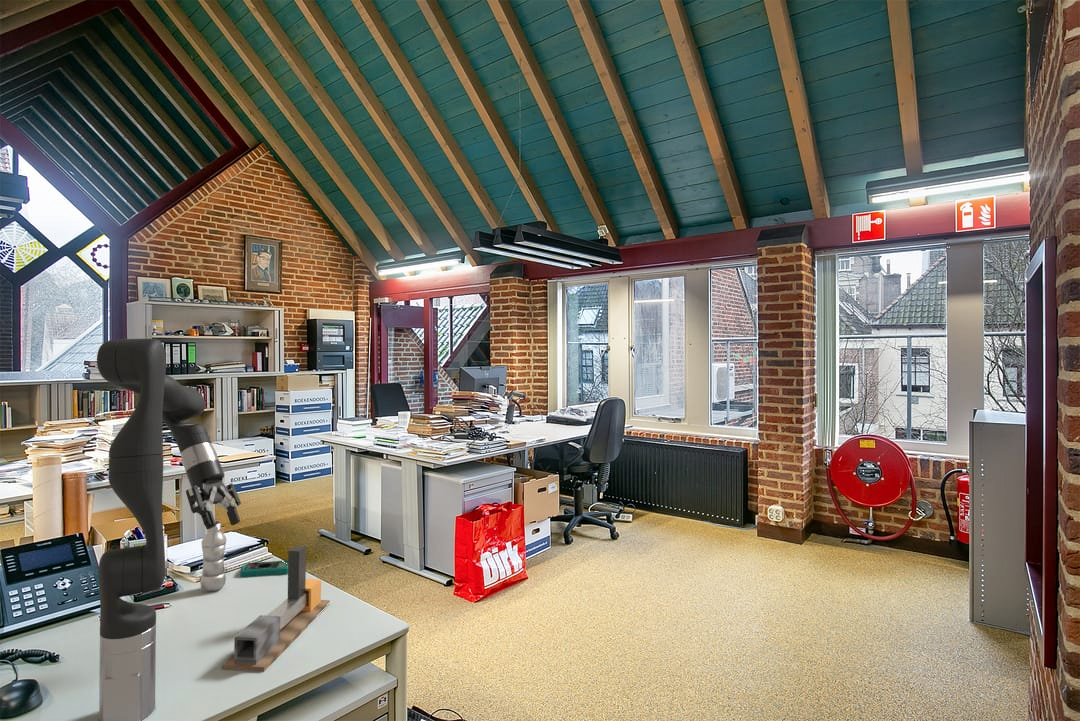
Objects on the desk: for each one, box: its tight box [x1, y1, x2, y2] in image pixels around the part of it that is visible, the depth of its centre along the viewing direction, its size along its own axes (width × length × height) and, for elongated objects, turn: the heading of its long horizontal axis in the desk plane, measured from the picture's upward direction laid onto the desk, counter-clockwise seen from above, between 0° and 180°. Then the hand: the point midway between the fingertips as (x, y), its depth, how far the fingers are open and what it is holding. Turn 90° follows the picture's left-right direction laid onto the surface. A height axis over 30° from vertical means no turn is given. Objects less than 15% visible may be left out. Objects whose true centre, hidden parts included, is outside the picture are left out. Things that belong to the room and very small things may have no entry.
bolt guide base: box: [220, 599, 331, 673], centre depth 153 cm, size 36×10×7 cm, turn 176°
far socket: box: [301, 578, 322, 612], centre depth 167 cm, size 6×6×6 cm
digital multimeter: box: [239, 559, 288, 578], centre depth 194 cm, size 7×15×3 cm, turn 104°
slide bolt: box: [267, 545, 309, 630], centre depth 156 cm, size 22×3×16 cm, turn 176°
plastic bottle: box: [199, 521, 227, 592], centre depth 179 cm, size 6×7×20 cm
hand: (224, 525), depth 144 cm, fingers open, 8 cm apart
